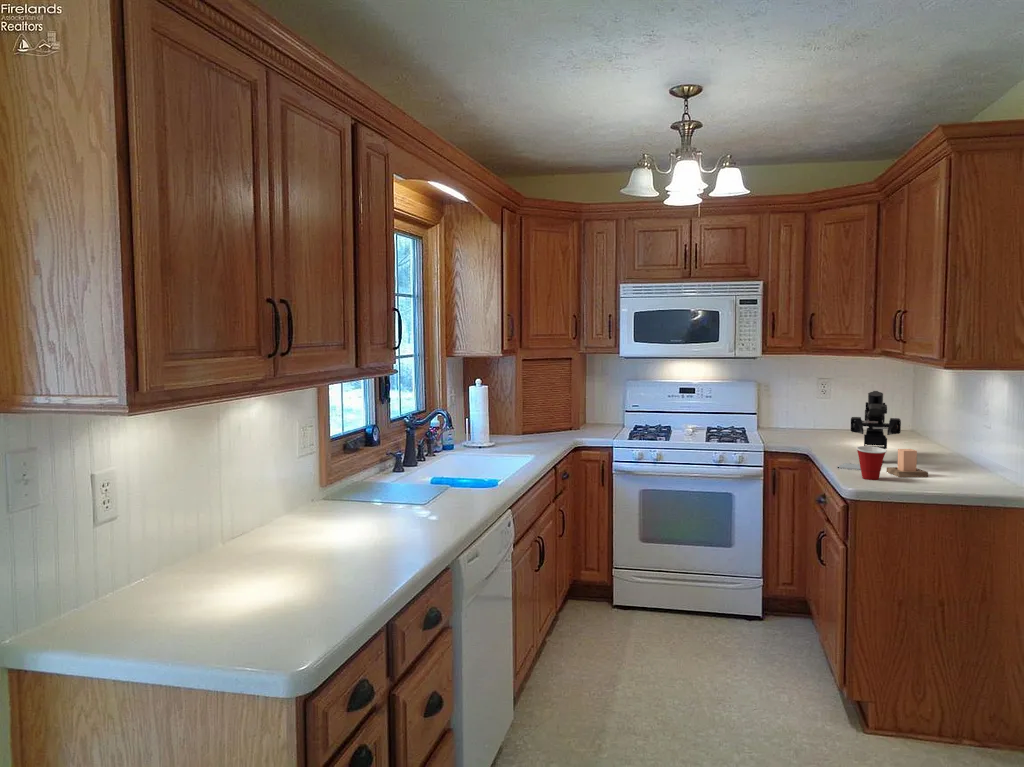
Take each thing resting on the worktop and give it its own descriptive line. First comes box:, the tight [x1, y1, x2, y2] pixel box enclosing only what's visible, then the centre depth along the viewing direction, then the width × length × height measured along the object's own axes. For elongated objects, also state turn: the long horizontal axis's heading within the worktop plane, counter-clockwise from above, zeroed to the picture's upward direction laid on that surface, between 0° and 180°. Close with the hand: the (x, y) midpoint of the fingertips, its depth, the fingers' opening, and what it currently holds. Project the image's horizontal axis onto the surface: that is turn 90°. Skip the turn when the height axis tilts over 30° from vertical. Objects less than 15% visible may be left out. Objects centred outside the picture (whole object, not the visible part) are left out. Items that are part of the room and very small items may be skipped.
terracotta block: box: [897, 448, 918, 471], centre depth 295 cm, size 5×5×10 cm
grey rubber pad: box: [836, 462, 861, 471], centre depth 312 cm, size 11×11×1 cm
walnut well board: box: [885, 466, 929, 478], centre depth 295 cm, size 11×11×2 cm
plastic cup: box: [855, 445, 888, 481], centre depth 288 cm, size 11×11×12 cm
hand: (875, 433), depth 302 cm, fingers open, 9 cm apart
